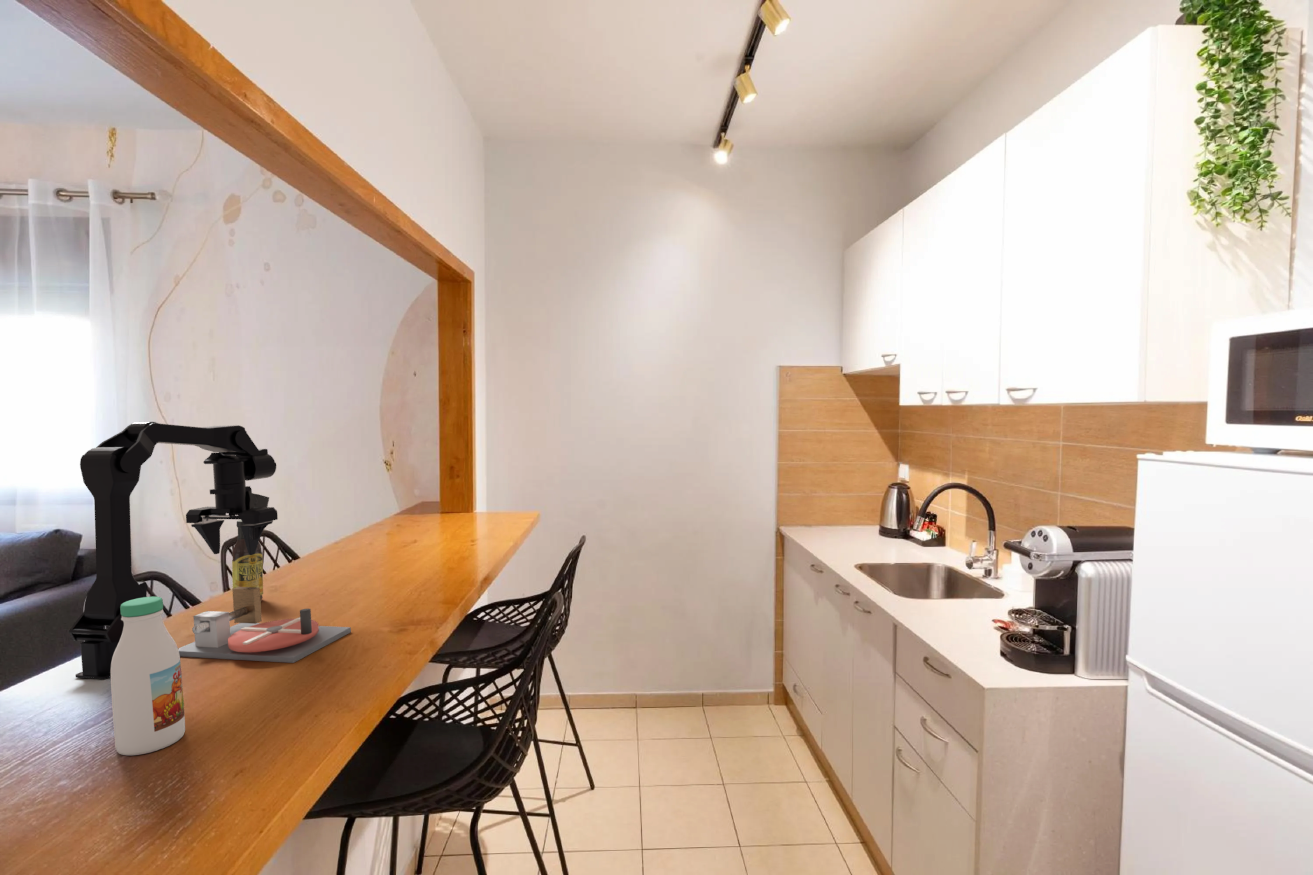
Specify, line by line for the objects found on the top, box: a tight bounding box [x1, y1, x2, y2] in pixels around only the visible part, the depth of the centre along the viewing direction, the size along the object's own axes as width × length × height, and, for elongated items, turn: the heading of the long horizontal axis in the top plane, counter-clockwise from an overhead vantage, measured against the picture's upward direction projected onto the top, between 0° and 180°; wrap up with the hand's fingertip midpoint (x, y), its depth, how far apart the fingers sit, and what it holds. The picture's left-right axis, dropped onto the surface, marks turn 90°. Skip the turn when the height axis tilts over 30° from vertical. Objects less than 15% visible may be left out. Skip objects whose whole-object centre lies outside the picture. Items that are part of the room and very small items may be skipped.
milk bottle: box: [110, 596, 186, 756], centre depth 91 cm, size 8×8×20 cm
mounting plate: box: [178, 610, 352, 664], centre depth 129 cm, size 16×26×7 cm, turn 79°
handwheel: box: [228, 608, 320, 652], centre depth 126 cm, size 15×15×6 cm
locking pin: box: [191, 587, 263, 635], centre depth 129 cm, size 13×5×7 cm, turn 169°
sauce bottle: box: [231, 519, 264, 602], centre depth 157 cm, size 6×6×20 cm
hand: (234, 554), depth 144 cm, fingers open, 9 cm apart
